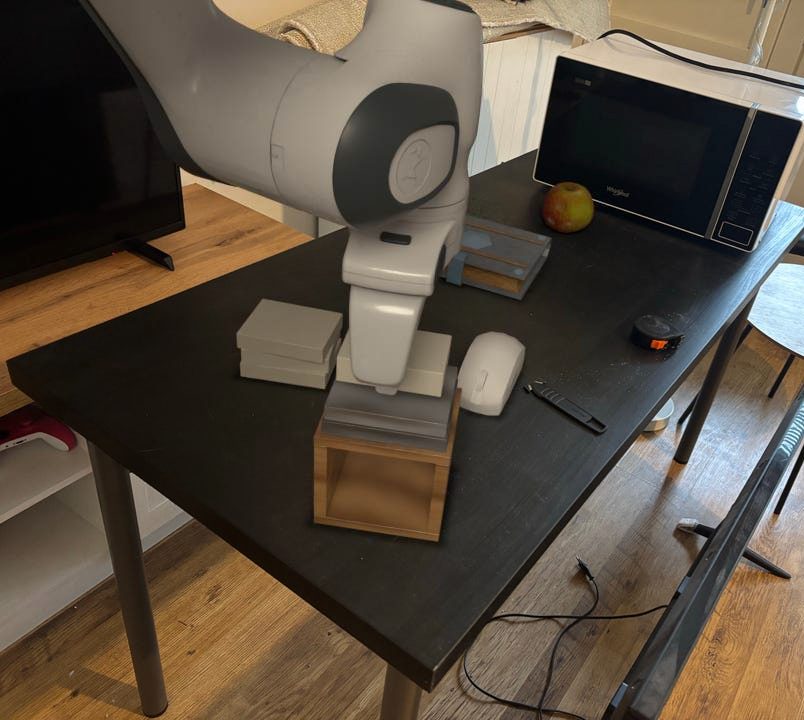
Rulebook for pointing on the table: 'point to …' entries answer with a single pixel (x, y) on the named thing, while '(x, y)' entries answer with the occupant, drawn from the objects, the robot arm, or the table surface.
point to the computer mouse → (490, 372)
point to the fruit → (568, 207)
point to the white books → (290, 344)
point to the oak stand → (385, 458)
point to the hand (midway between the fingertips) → (394, 364)
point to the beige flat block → (410, 364)
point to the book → (497, 258)
